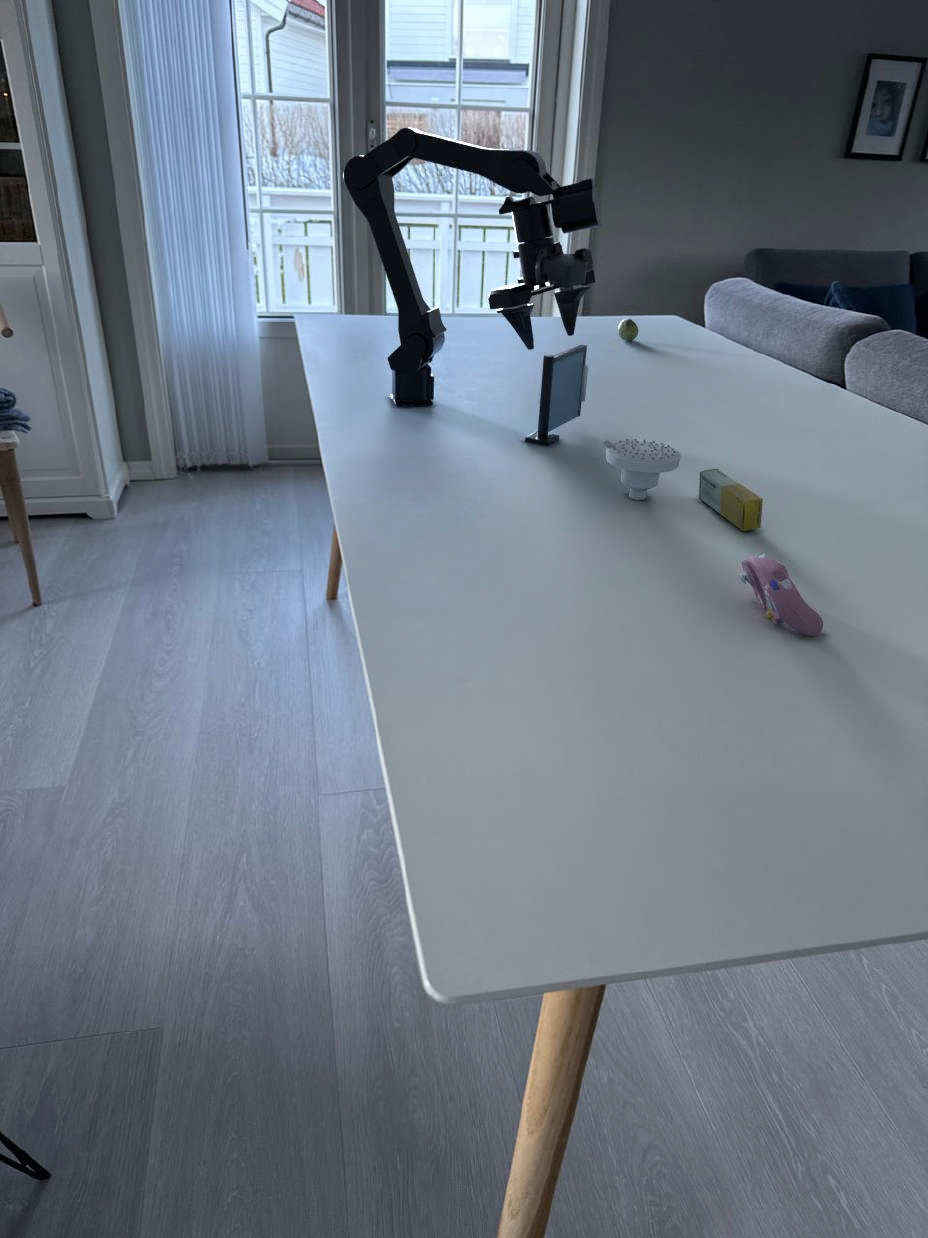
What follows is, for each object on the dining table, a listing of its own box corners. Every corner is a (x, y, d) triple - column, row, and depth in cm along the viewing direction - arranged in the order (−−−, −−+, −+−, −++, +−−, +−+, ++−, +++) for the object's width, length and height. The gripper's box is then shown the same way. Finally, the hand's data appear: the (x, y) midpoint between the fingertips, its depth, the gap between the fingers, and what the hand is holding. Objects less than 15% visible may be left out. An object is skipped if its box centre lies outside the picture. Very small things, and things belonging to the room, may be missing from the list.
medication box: (696, 499, 119) (698, 470, 117) (715, 496, 120) (717, 467, 118) (741, 532, 109) (744, 500, 107) (762, 528, 109) (765, 497, 107)
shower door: (542, 431, 140) (548, 356, 134) (574, 414, 149) (581, 344, 144) (556, 434, 139) (562, 358, 133) (587, 417, 148) (594, 346, 143)
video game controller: (746, 606, 95) (728, 552, 92) (787, 588, 95) (770, 533, 91) (783, 653, 86) (764, 595, 83) (829, 634, 86) (811, 575, 83)
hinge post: (524, 441, 139) (530, 356, 133) (536, 435, 142) (542, 351, 136) (548, 446, 137) (555, 359, 131) (559, 440, 140) (566, 355, 134)
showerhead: (605, 429, 120) (681, 436, 119) (599, 481, 124) (673, 488, 122) (600, 450, 112) (682, 458, 111) (594, 505, 116) (673, 513, 114)
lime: (616, 338, 215) (618, 316, 213) (636, 339, 215) (639, 317, 212) (616, 341, 211) (619, 319, 209) (637, 342, 211) (640, 320, 208)
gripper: (527, 245, 129) (545, 355, 135) (614, 222, 138) (627, 326, 145) (477, 253, 137) (496, 357, 143) (562, 231, 147) (576, 329, 153)
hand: (551, 342), depth 146 cm, fingers open, 9 cm apart
